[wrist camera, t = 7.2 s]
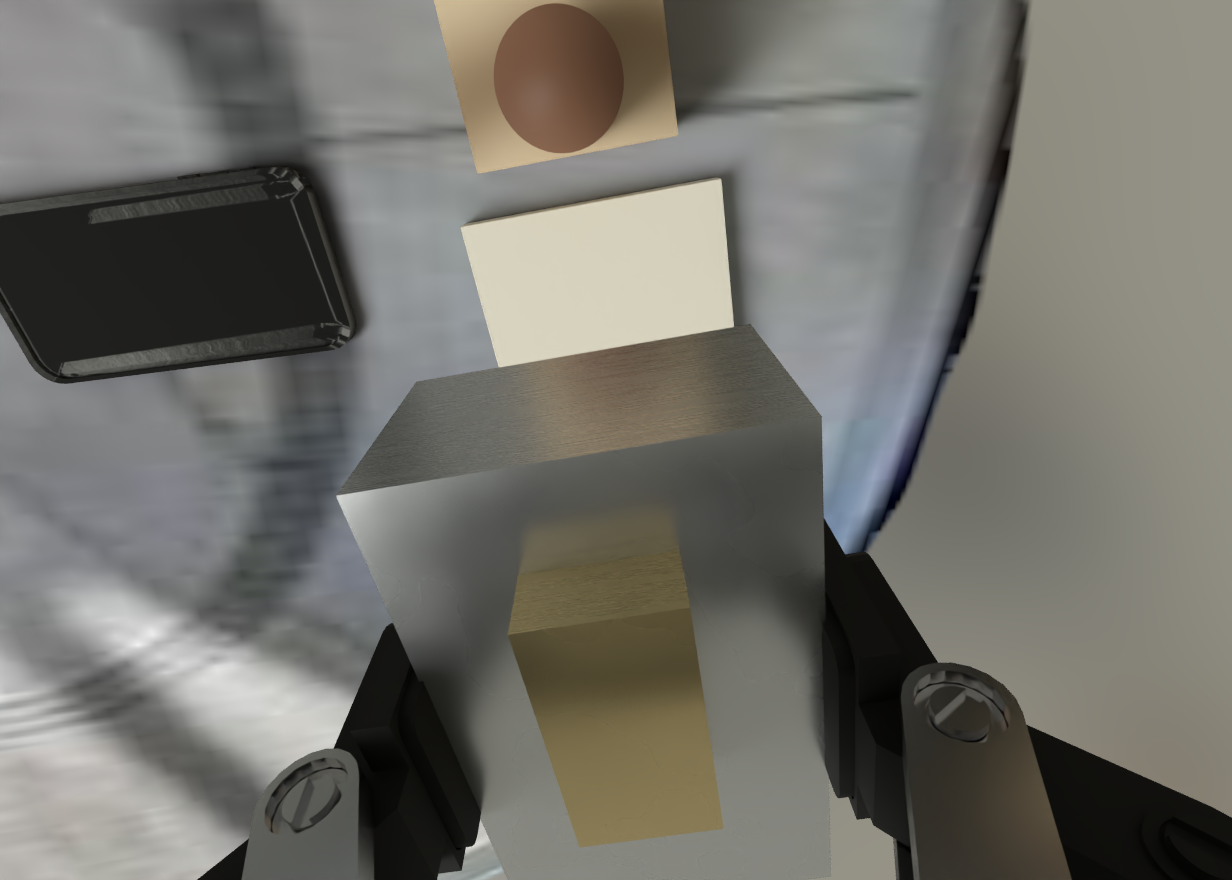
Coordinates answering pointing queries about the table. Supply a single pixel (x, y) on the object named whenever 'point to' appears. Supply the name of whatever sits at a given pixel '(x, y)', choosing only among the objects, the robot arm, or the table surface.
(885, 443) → the table surface
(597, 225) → the felt mat
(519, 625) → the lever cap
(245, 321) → the phone
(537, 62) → the body
